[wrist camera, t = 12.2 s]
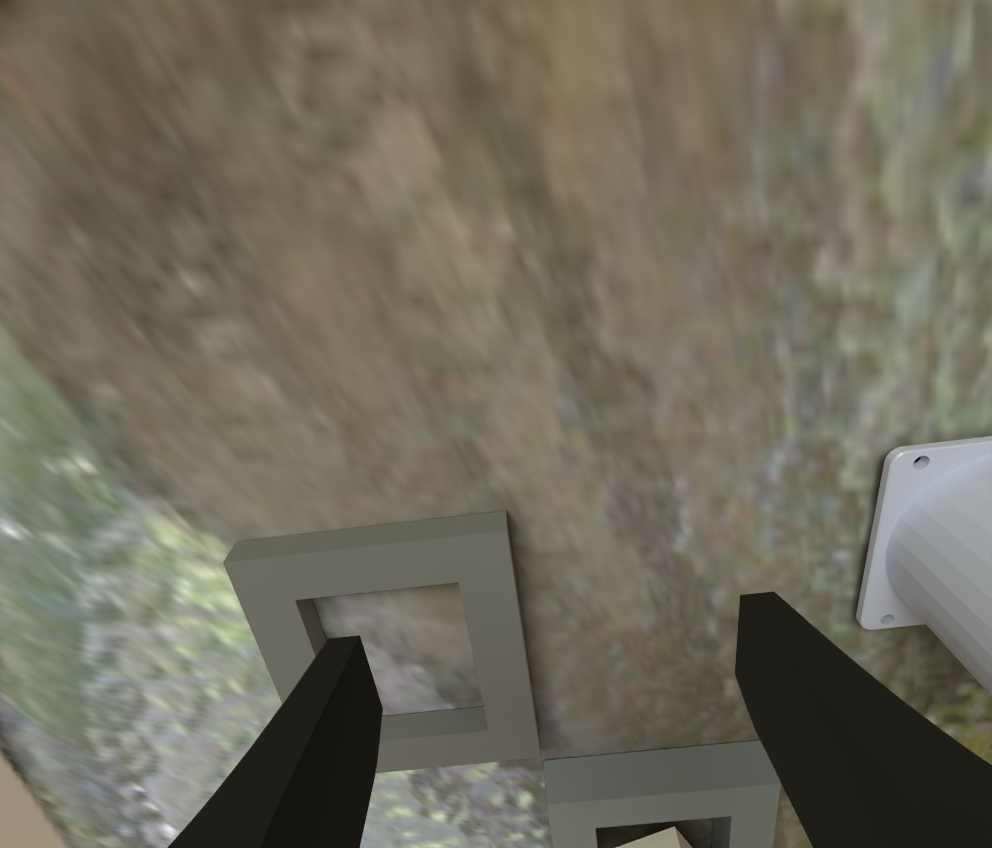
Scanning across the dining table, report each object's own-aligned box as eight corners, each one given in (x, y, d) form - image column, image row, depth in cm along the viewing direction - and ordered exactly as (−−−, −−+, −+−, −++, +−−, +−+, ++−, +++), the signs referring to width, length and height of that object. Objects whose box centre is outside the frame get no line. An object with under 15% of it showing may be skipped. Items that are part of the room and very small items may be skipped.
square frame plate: (506, 510, 21) (507, 530, 20) (538, 731, 26) (541, 757, 25) (236, 541, 21) (223, 562, 20) (321, 752, 27) (314, 778, 25)
